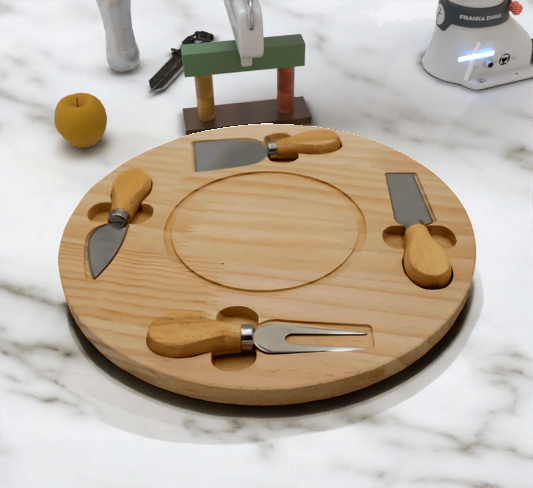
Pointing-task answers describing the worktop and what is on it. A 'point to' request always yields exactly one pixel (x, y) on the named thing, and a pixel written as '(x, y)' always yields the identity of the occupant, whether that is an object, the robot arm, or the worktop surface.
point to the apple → (80, 119)
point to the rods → (246, 107)
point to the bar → (228, 58)
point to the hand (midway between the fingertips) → (243, 57)
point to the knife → (176, 62)
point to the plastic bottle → (119, 34)
